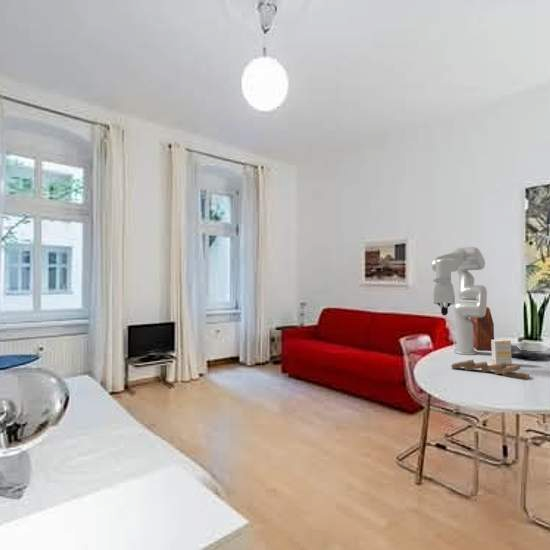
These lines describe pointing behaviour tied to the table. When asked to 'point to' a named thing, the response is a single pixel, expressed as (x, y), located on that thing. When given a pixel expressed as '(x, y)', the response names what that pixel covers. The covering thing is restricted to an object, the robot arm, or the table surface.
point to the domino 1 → (462, 364)
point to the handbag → (483, 331)
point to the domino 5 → (516, 375)
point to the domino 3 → (494, 367)
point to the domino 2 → (476, 366)
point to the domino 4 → (507, 369)
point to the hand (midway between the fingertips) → (444, 314)
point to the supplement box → (501, 351)
